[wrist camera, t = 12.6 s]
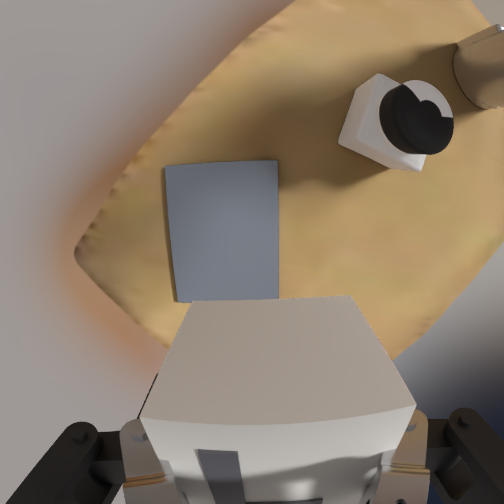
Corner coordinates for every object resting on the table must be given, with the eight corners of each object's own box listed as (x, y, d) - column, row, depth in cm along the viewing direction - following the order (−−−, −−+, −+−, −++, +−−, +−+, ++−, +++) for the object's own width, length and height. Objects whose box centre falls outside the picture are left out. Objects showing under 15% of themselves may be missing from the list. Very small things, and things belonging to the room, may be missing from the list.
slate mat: (167, 165, 31) (164, 166, 30) (277, 160, 30) (277, 160, 29) (179, 299, 35) (178, 302, 35) (278, 299, 35) (278, 302, 34)
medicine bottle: (391, 169, 30) (450, 177, 18) (336, 143, 29) (376, 135, 18) (409, 115, 28) (470, 102, 16) (355, 87, 27) (400, 55, 16)
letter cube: (210, 411, 13) (191, 518, 7) (192, 300, 11) (138, 419, 5) (334, 406, 12) (360, 511, 7) (350, 295, 11) (418, 407, 5)
